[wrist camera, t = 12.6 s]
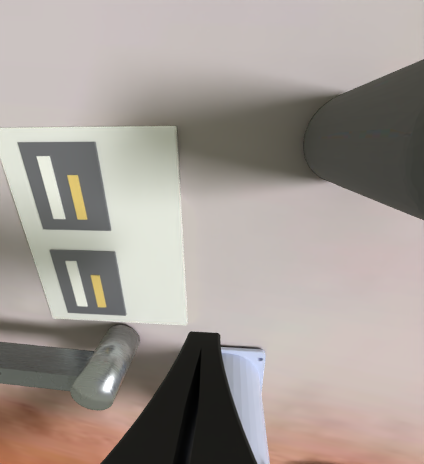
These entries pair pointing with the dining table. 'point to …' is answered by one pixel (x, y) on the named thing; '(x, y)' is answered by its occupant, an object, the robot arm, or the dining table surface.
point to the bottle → (374, 140)
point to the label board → (102, 219)
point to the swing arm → (73, 367)
